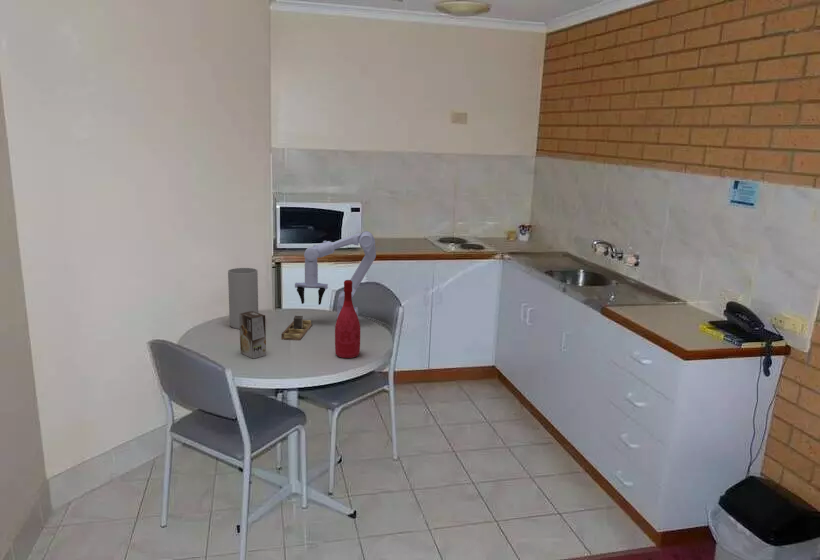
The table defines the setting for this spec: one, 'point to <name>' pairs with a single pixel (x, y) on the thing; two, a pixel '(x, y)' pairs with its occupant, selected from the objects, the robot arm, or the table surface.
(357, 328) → the wine bottle
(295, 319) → the black box
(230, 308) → the cylinder vase
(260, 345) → the coffee box
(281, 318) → the table surface
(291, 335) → the rack
